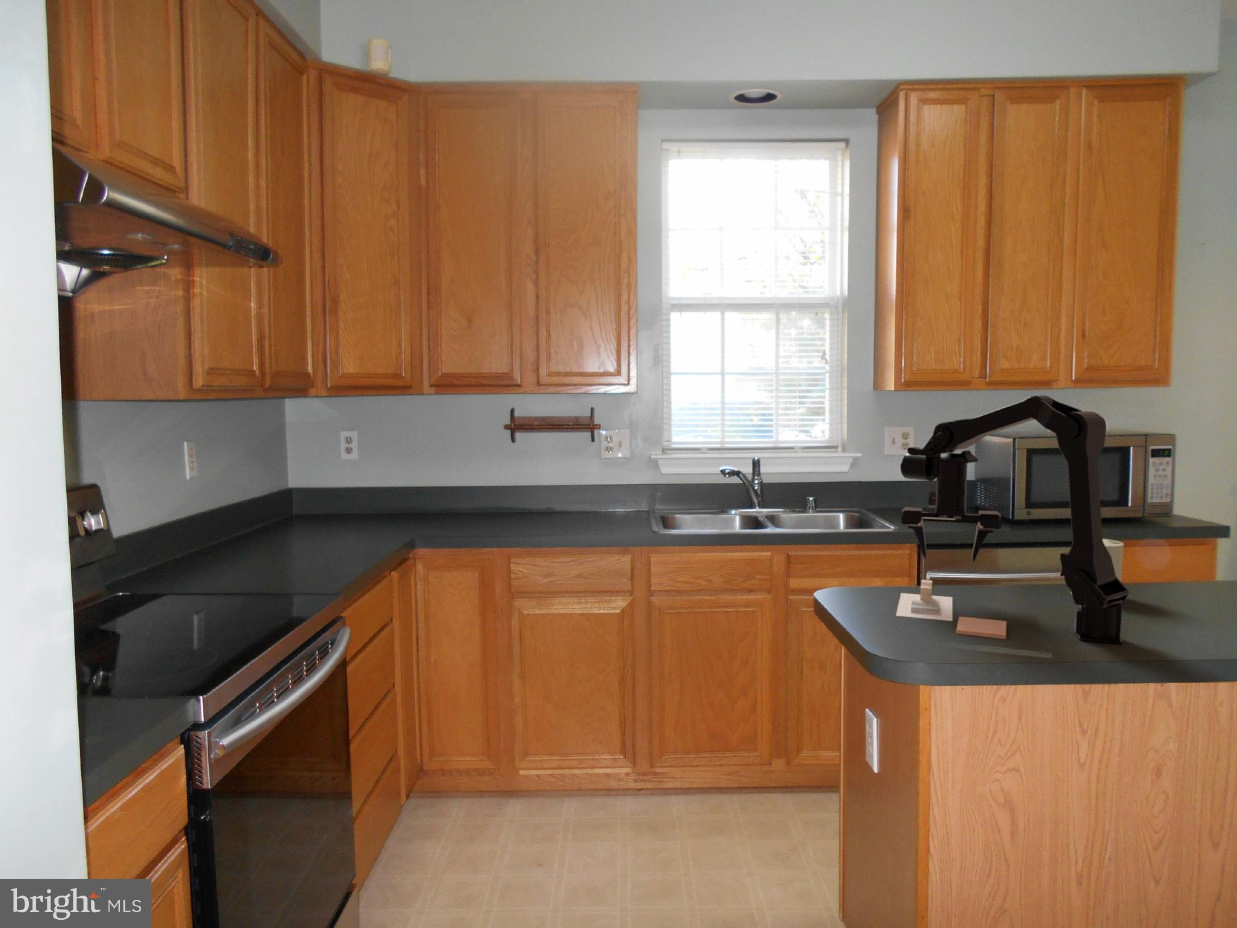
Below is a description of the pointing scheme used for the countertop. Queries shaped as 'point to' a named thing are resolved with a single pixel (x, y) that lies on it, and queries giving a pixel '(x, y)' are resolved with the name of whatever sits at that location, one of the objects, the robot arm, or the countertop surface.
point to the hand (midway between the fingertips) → (948, 559)
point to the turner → (925, 600)
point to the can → (1115, 555)
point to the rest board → (944, 613)
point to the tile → (981, 627)
